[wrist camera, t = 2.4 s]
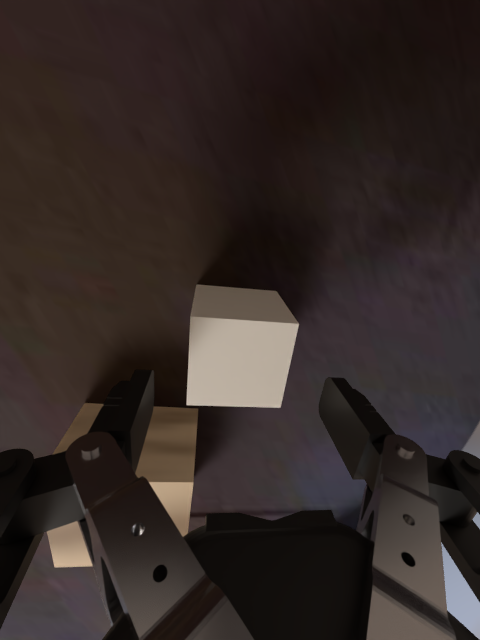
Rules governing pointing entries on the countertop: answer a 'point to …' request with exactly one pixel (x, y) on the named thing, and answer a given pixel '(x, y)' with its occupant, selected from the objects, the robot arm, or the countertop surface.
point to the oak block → (140, 473)
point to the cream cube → (239, 347)
